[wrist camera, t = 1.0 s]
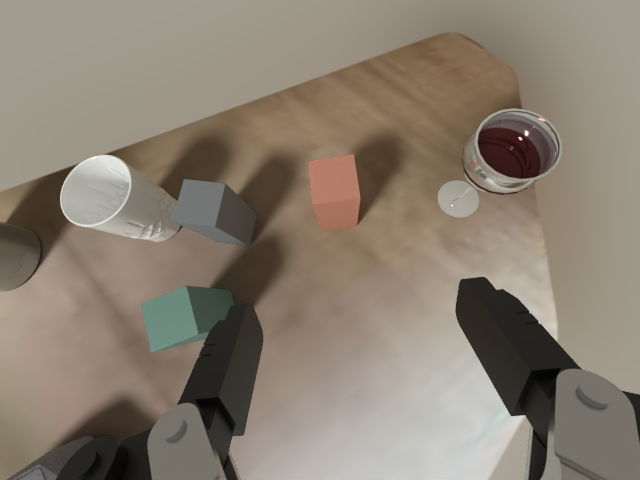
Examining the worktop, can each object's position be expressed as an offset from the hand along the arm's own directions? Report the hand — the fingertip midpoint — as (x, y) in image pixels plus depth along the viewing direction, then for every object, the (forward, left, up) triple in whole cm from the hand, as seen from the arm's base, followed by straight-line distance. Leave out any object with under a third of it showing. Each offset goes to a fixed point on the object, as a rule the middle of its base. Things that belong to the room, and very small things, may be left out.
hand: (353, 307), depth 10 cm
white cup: (-28, +2, -22) cm, 36 cm away
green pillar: (-15, -7, -22) cm, 27 cm away
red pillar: (-5, +10, -22) cm, 25 cm away
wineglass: (+9, +16, -22) cm, 29 cm away
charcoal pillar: (-17, +4, -22) cm, 28 cm away
